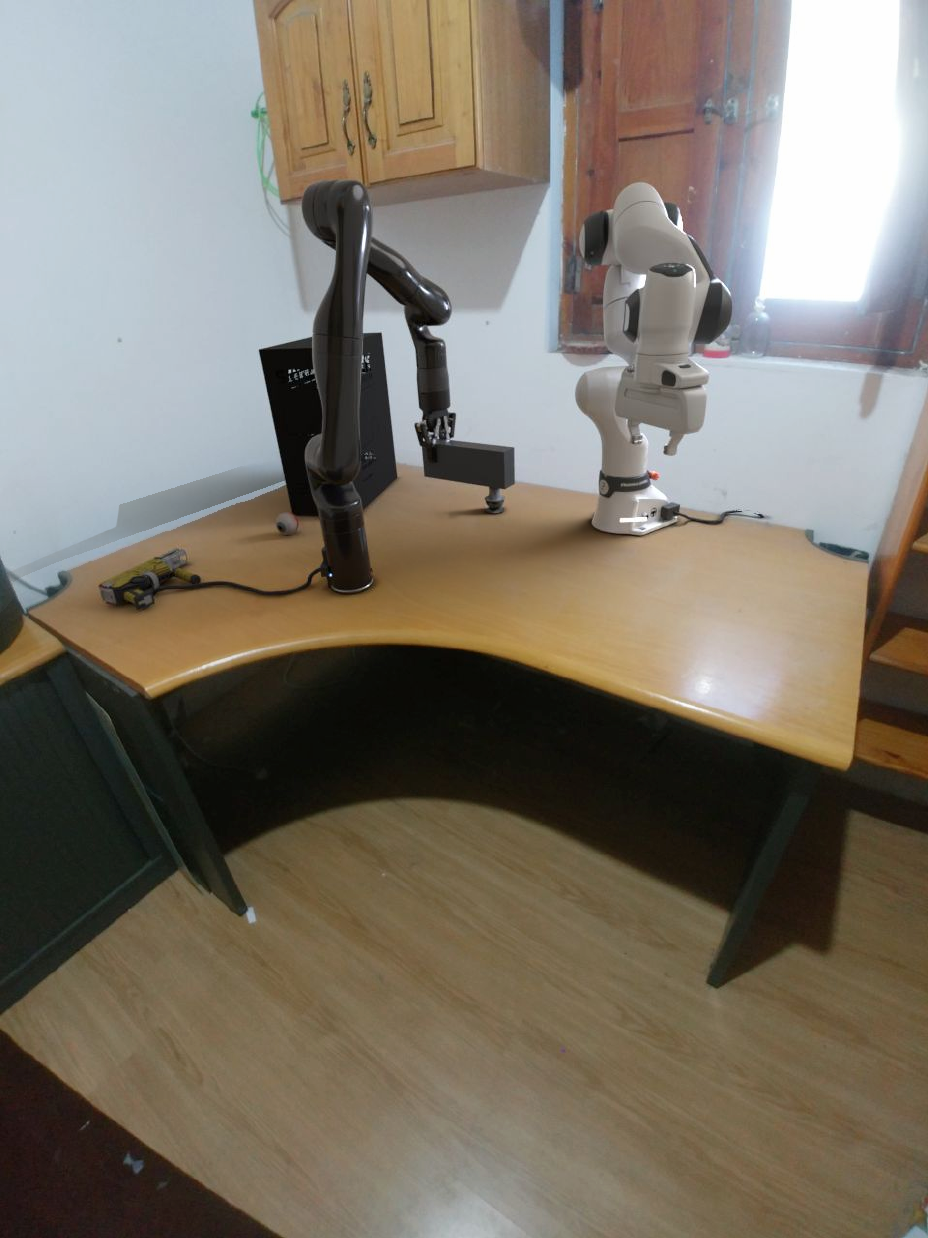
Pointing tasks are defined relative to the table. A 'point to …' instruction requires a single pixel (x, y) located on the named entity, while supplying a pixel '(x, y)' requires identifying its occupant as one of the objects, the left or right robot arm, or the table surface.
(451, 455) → the bar
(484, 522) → the table surface
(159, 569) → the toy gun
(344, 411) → the left robot arm
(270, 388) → the cardboard box
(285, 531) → the eyeball
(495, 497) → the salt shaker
